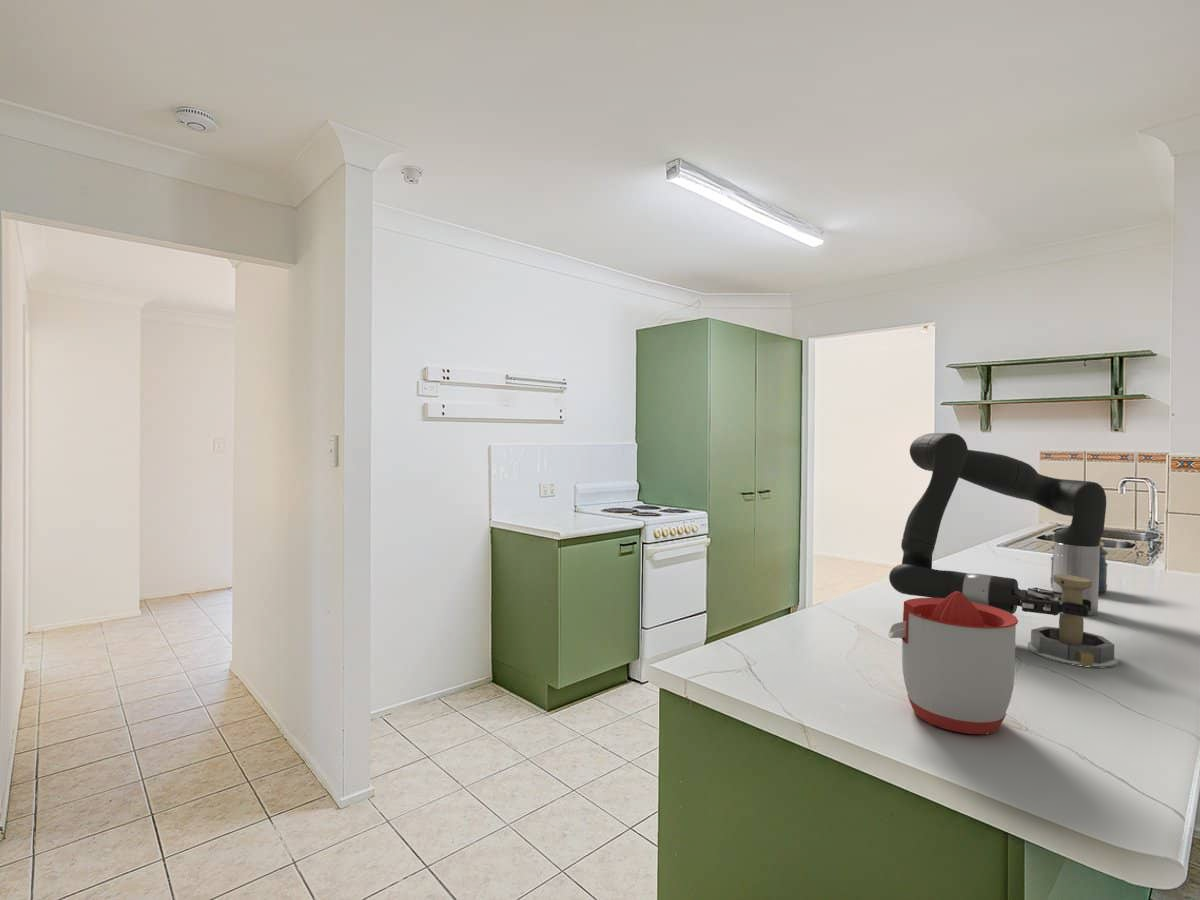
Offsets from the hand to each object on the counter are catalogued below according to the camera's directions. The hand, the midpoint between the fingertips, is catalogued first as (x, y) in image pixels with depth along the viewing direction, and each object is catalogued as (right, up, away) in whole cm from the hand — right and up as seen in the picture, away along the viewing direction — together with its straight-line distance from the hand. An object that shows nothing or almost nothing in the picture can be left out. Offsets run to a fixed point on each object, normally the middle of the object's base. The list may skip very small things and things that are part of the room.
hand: (1088, 608), depth 122 cm
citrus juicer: (-43, -10, -26) cm, 52 cm away
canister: (+41, -9, +55) cm, 69 cm away
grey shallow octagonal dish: (-2, -10, +2) cm, 10 cm away
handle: (-2, -9, +2) cm, 10 cm away
